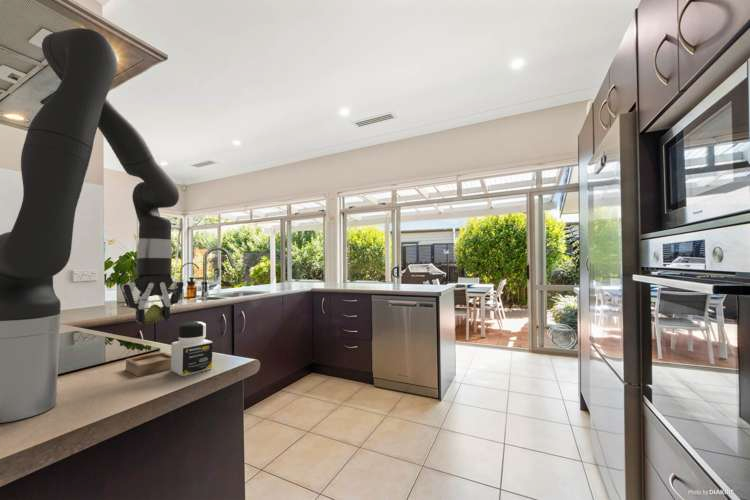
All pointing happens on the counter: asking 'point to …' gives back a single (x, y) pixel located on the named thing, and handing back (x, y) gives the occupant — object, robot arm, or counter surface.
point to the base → (148, 364)
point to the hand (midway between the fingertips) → (152, 322)
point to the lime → (153, 314)
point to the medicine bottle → (191, 350)
